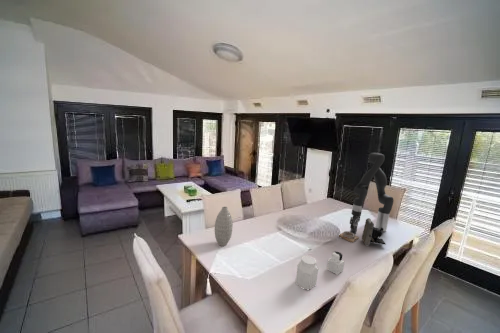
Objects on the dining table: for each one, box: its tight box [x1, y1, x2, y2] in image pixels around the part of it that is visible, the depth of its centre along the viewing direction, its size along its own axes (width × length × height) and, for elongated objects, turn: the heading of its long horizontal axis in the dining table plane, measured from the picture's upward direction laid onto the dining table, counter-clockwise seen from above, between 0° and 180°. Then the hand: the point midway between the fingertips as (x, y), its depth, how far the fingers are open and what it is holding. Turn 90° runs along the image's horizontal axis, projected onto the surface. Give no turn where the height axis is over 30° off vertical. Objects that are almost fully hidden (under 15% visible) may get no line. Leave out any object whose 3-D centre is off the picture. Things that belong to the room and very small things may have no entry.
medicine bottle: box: [326, 250, 345, 275], centre depth 147 cm, size 7×7×12 cm
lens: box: [349, 222, 359, 235], centre depth 204 cm, size 5×5×10 cm
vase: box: [214, 206, 234, 247], centre depth 167 cm, size 13×13×28 cm
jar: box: [295, 255, 319, 290], centre depth 133 cm, size 12×10×15 cm
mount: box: [338, 231, 360, 244], centre depth 194 cm, size 12×12×4 cm
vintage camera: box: [361, 218, 387, 246], centre depth 185 cm, size 10×16×20 cm, turn 79°
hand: (353, 227), depth 204 cm, fingers open, 8 cm apart
